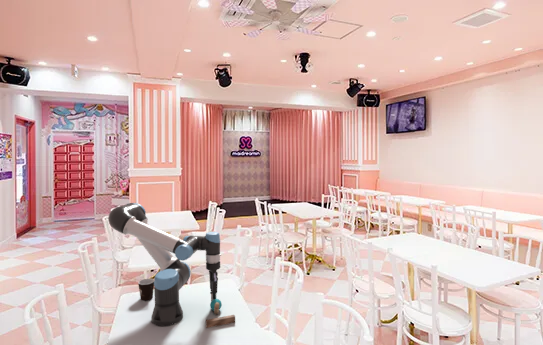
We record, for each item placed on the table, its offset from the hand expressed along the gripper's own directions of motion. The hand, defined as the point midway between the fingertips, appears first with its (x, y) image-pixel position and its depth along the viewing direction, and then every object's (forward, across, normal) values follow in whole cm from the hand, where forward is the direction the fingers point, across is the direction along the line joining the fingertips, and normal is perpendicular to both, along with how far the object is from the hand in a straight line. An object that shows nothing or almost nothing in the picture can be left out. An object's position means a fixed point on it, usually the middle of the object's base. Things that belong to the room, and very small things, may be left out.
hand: (213, 303), depth 172 cm
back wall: (+2, -18, 0) cm, 18 cm away
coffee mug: (+2, +23, +34) cm, 41 cm away
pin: (+1, -7, 0) cm, 7 cm away
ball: (-1, -4, 0) cm, 4 cm away
